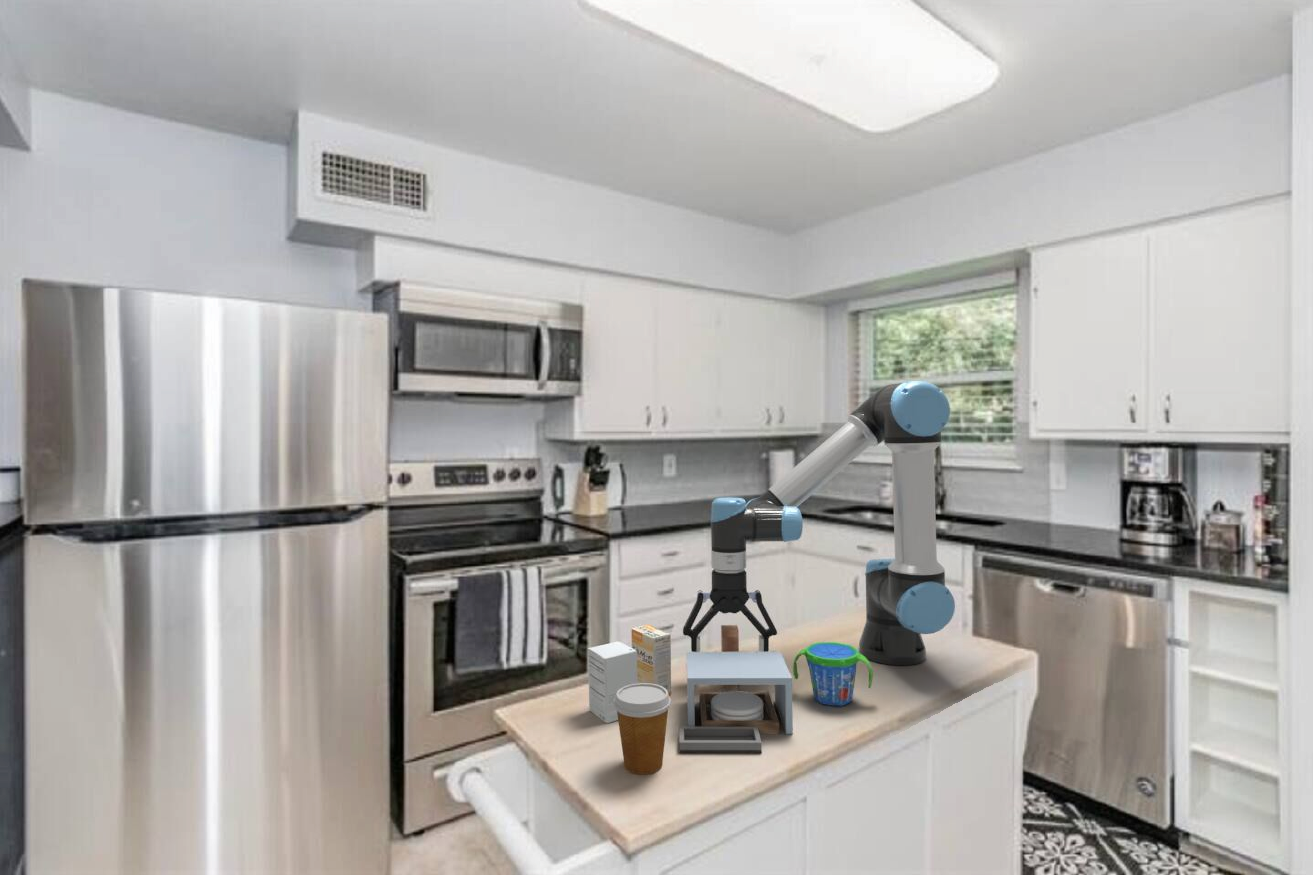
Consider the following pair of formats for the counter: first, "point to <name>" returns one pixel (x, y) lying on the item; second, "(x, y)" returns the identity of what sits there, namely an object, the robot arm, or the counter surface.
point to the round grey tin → (736, 707)
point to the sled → (732, 645)
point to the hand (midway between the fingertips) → (729, 666)
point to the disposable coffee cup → (642, 725)
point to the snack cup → (832, 671)
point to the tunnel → (741, 677)
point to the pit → (720, 740)
